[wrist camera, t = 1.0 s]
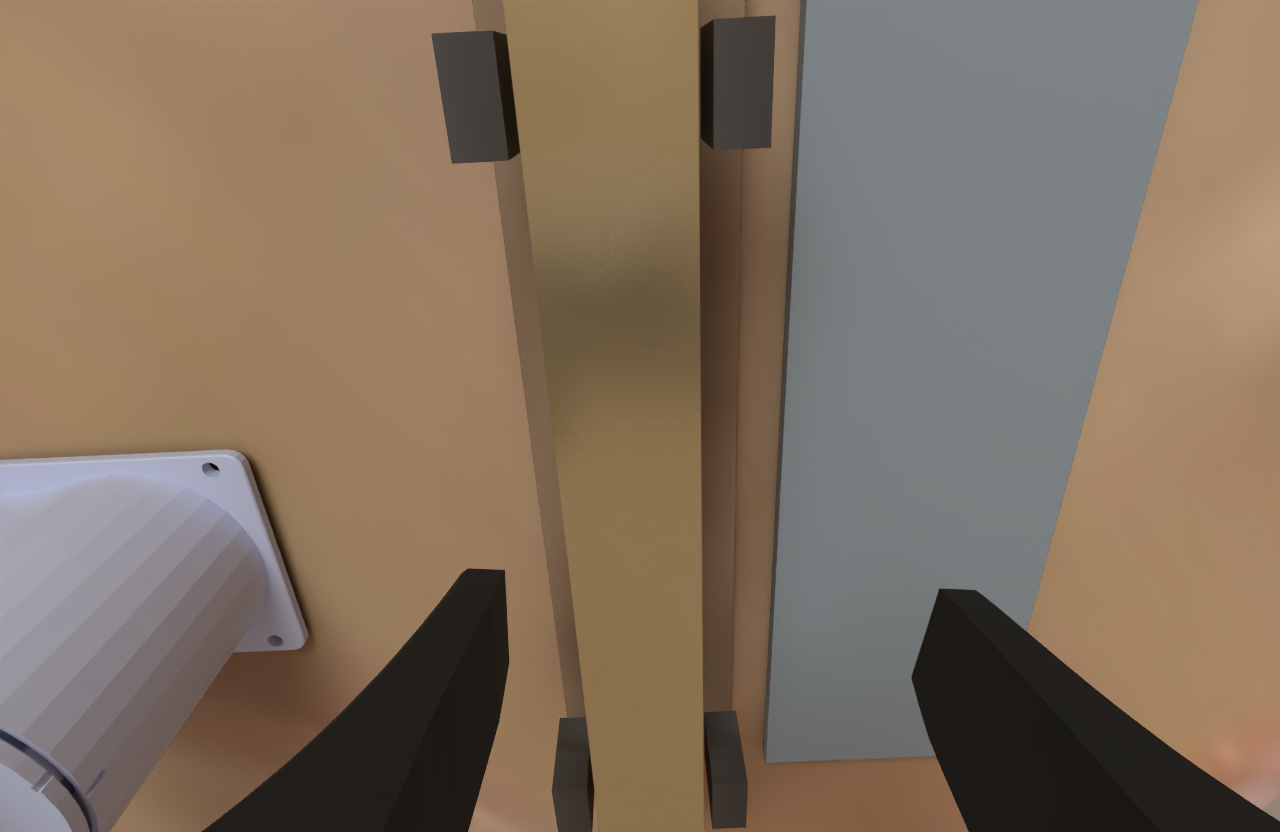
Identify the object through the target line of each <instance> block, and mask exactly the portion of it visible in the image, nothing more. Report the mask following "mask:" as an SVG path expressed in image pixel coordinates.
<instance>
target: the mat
mask: <svg viewBox="0 0 1280 832" xmlns="http://www.w3.org/2000/svg"><path fill="white" fill-rule="evenodd" d="M1197 4H1198V0H801V13H800V33H799V53H798V73H797V93H796V112H795V132H794V152H793V172H792V192H791V212H790V231H789V251H788V271H787V291H786V311H785V330H784V350H783V370H782V390H781V410H780V429H779V449H778V469H777V489H776V509H775V529H774V548H773V568H772V588H771V608H770V628H769V647H768V667H767V687H766V707H765V727H764V747H763V751H764V756H765V761H766V763H783V762H807V761H832V760H856V759H881V758H906V757H930V756H936V755H935V752H934V750H933V747H932V745H931V742H930V740H929V737H928V734H927V731H926V728H925V725H924V721H923V718H922V715H921V712H920V708H919V704H918V701H917V697H916V693H915V690H914V686H913V683H912V679H911V676H912V673H913V670H914V667H915V664H916V660H917V657H918V654H919V651H920V648H921V645H922V642H923V638H924V635H925V632H926V629H927V626H928V623H929V619H930V616H931V613H932V610H933V607H934V604H935V601H936V597H937V594H938V591H939V588H942V589H965V590H977V591H978V592H979V593H980V594H982V595H983V596H984V597H986V598H987V599H988V600H989V601H991V602H992V603H993V604H994V605H996V606H997V607H998V608H999V609H1000V610H1002V611H1003V612H1004V613H1005V614H1006V615H1008V616H1009V617H1010V618H1011V619H1012V620H1014V621H1015V622H1016V623H1017V624H1018V625H1019V626H1021V627H1022V628H1023V629H1024V630H1025V631H1026V632H1027V628H1028V624H1029V621H1030V617H1031V613H1032V610H1033V606H1034V602H1035V599H1036V595H1037V591H1038V588H1039V584H1040V580H1041V577H1042V573H1043V569H1044V566H1045V562H1046V558H1047V555H1048V551H1049V547H1050V544H1051V540H1052V536H1053V533H1054V529H1055V525H1056V522H1057V518H1058V514H1059V511H1060V507H1061V503H1062V500H1063V496H1064V492H1065V488H1066V485H1067V481H1068V477H1069V474H1070V470H1071V466H1072V463H1073V459H1074V455H1075V452H1076V448H1077V444H1078V441H1079V437H1080V433H1081V430H1082V426H1083V422H1084V419H1085V415H1086V411H1087V408H1088V404H1089V400H1090V397H1091V393H1092V389H1093V386H1094V382H1095V378H1096V375H1097V371H1098V367H1099V364H1100V360H1101V356H1102V353H1103V349H1104V345H1105V342H1106V338H1107V334H1108V331H1109V327H1110V323H1111V320H1112V316H1113V312H1114V309H1115V305H1116V301H1117V298H1118V294H1119V290H1120V286H1121V283H1122V279H1123V275H1124V272H1125V268H1126V264H1127V261H1128V257H1129V253H1130V250H1131V246H1132V242H1133V239H1134V235H1135V231H1136V228H1137V224H1138V220H1139V217H1140V213H1141V209H1142V206H1143V202H1144V198H1145V195H1146V191H1147V187H1148V184H1149V180H1150V176H1151V173H1152V169H1153V165H1154V162H1155V158H1156V154H1157V151H1158V147H1159V143H1160V140H1161V136H1162V132H1163V129H1164V125H1165V121H1166V118H1167V114H1168V110H1169V107H1170V103H1171V99H1172V96H1173V92H1174V88H1175V85H1176V81H1177V77H1178V73H1179V70H1180V66H1181V62H1182V59H1183V55H1184V51H1185V48H1186V44H1187V40H1188V37H1189V33H1190V29H1191V26H1192V22H1193V18H1194V15H1195V11H1196V7H1197Z"/></svg>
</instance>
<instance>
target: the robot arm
mask: <svg viewBox="0 0 1280 832" xmlns="http://www.w3.org/2000/svg"><path fill="white" fill-rule="evenodd" d="M209 463H213V464H215V465H216V466H217V467H218V468H219V470H220V471H218V470H215V469H213V468H212V467H211V466H210V464H209ZM276 636H279V637H280V638H278V637H276ZM307 638H308V631H307V628H306V626H305V623H304V620H303V617H302V614H301V611H300V608H299V605H298V603H297V600H296V597H295V594H294V591H293V588H292V585H291V582H290V580H289V577H288V574H287V571H286V568H285V565H284V562H283V559H282V557H281V554H280V551H279V548H278V545H277V542H276V539H275V536H274V534H273V531H272V528H271V525H270V522H269V519H268V516H267V513H266V511H265V508H264V505H263V502H262V499H261V496H260V493H259V490H258V488H257V485H256V482H255V479H254V476H253V473H252V470H251V467H250V465H249V462H248V460H247V459H246V457H245V456H243V455H242V454H241V453H239V452H237V451H235V450H208V451H186V452H164V453H142V454H121V455H99V456H77V457H55V458H34V459H12V460H0V832H110V831H111V829H112V828H113V827H114V825H115V824H116V822H117V821H118V819H119V818H120V816H121V815H122V813H123V812H124V810H125V809H126V808H127V806H128V805H129V803H130V802H131V800H132V799H133V797H134V796H135V794H136V793H137V792H138V790H139V789H140V787H141V786H142V784H143V783H144V781H145V780H146V778H147V777H148V776H149V774H150V773H151V771H152V770H153V768H154V767H155V765H156V764H157V762H158V761H159V760H160V758H161V757H162V755H163V754H164V752H165V751H166V749H167V748H168V746H169V745H170V744H171V742H172V741H173V739H174V738H175V736H176V735H177V733H178V732H179V730H180V729H181V728H182V726H183V725H184V723H185V722H186V720H187V719H188V717H189V716H190V714H191V713H192V712H193V710H194V709H195V707H196V706H197V704H198V703H199V701H200V700H201V698H202V697H203V695H204V694H205V693H206V691H207V690H208V688H209V687H210V685H211V684H212V682H213V681H214V679H215V678H216V677H217V675H218V674H219V672H220V671H221V669H222V668H223V666H224V665H225V663H226V662H227V661H228V659H229V658H230V656H231V655H232V653H233V652H256V651H280V650H296V649H300V648H301V647H303V645H304V644H305V642H306V640H307ZM508 666H509V647H508V626H507V606H506V586H505V570H490V569H467V570H465V571H464V572H463V573H462V574H461V575H460V576H459V577H458V579H457V580H456V582H455V583H454V584H453V586H452V587H451V588H450V589H449V591H448V592H447V593H446V595H445V596H444V597H443V599H442V600H441V601H440V603H439V604H438V605H437V606H436V608H435V609H434V610H433V611H432V613H431V614H430V615H429V616H428V617H427V619H426V620H425V621H424V622H423V624H422V625H421V626H420V627H419V629H418V630H417V631H416V632H415V633H414V634H413V635H412V637H411V638H410V639H409V640H408V641H407V642H406V644H405V645H404V646H403V647H402V648H401V649H400V650H399V652H398V653H397V654H396V655H395V656H394V657H393V659H392V660H391V661H390V662H389V663H388V664H387V665H386V666H385V668H384V669H383V670H382V671H381V672H380V673H379V674H378V675H377V676H376V677H375V678H374V679H373V680H372V681H371V682H370V683H369V684H368V685H367V686H366V687H365V689H364V690H363V691H362V692H361V693H360V694H359V695H358V696H357V697H356V698H355V699H354V700H353V701H352V702H351V703H350V704H349V705H348V706H347V707H346V708H345V709H344V710H343V711H342V712H341V713H340V714H339V715H338V716H337V717H336V718H335V719H334V720H333V721H332V722H331V723H330V724H329V725H328V726H327V727H326V728H325V729H324V730H323V731H322V732H320V733H319V734H318V735H317V736H316V737H315V738H314V739H313V740H312V741H311V742H310V743H309V744H307V745H306V746H305V747H304V748H303V749H302V750H301V751H300V752H298V753H297V754H296V755H295V756H294V757H293V758H292V759H291V760H290V761H288V762H287V763H286V764H285V765H284V766H283V767H282V768H280V769H279V770H278V771H277V772H275V773H274V774H273V775H272V776H271V777H269V778H268V779H267V780H266V781H265V782H263V783H262V784H261V785H260V786H259V787H257V788H256V789H255V790H254V791H253V792H251V793H250V794H249V795H248V796H247V797H245V798H244V799H243V800H242V801H241V802H239V803H238V804H237V805H236V806H234V807H233V808H232V809H230V810H229V811H228V812H227V813H225V814H224V815H223V816H222V817H220V818H219V819H218V820H216V821H215V822H214V823H212V824H211V825H210V826H209V827H207V828H206V829H205V830H203V831H202V832H468V830H469V826H470V823H471V819H472V816H473V812H474V809H475V805H476V802H477V798H478V795H479V791H480V788H481V784H482V781H483V777H484V774H485V770H486V767H487V763H488V760H489V756H490V752H491V749H492V745H493V742H494V738H495V735H496V731H497V727H498V724H499V719H500V713H501V708H502V702H503V696H504V690H505V684H506V678H507V672H508ZM911 679H912V683H913V686H914V690H915V693H916V697H917V701H918V704H919V708H920V712H921V715H922V718H923V721H924V725H925V728H926V731H927V734H928V737H929V740H930V742H931V745H932V747H933V750H934V752H935V755H936V757H937V759H938V762H939V764H940V766H941V769H942V771H943V773H944V776H945V778H946V780H947V783H948V785H949V787H950V790H951V792H952V794H953V796H954V799H955V801H956V803H957V806H958V808H959V810H960V812H961V815H962V817H963V819H964V822H965V824H966V826H967V828H968V831H969V832H1280V821H1278V820H1277V819H1275V818H1274V817H1272V816H1270V815H1269V814H1267V813H1266V812H1264V811H1263V810H1261V809H1259V808H1258V807H1256V806H1255V805H1253V804H1252V803H1250V802H1249V801H1247V800H1246V799H1244V798H1243V797H1242V796H1240V795H1239V794H1237V793H1236V792H1234V791H1233V790H1231V789H1230V788H1228V787H1227V786H1225V785H1224V784H1222V783H1221V782H1219V781H1218V780H1216V779H1215V778H1214V777H1212V776H1211V775H1209V774H1208V773H1206V772H1205V771H1203V770H1202V769H1200V768H1199V767H1197V766H1196V765H1195V764H1193V763H1192V762H1190V761H1189V760H1188V759H1186V758H1185V757H1183V756H1182V755H1181V754H1179V753H1178V752H1176V751H1175V750H1174V749H1172V748H1171V747H1170V746H1168V745H1167V744H1166V743H1164V742H1163V741H1162V740H1160V739H1159V738H1158V737H1156V736H1155V735H1154V734H1152V733H1151V732H1150V731H1148V730H1147V729H1146V728H1144V727H1143V726H1142V725H1141V724H1139V723H1138V722H1137V721H1135V720H1134V719H1133V718H1131V717H1130V716H1129V715H1127V714H1126V713H1125V712H1123V711H1122V710H1121V709H1120V708H1118V707H1117V706H1116V705H1115V704H1113V703H1112V702H1111V701H1110V700H1108V699H1107V698H1106V697H1105V696H1103V695H1102V694H1101V693H1100V692H1098V691H1097V690H1096V689H1095V688H1093V687H1092V686H1091V685H1090V684H1089V683H1087V682H1086V681H1085V680H1084V679H1082V678H1081V677H1080V676H1079V675H1078V674H1076V673H1075V672H1074V671H1073V670H1072V669H1070V668H1069V667H1068V666H1067V665H1066V664H1064V663H1063V662H1062V661H1061V660H1060V659H1058V658H1057V657H1056V656H1055V655H1054V654H1052V653H1051V652H1050V651H1049V650H1048V649H1047V648H1045V647H1044V646H1043V645H1042V644H1041V643H1039V642H1038V641H1037V640H1036V639H1035V638H1034V637H1032V636H1031V635H1030V634H1029V633H1028V632H1026V631H1025V630H1024V629H1023V628H1022V627H1021V626H1019V625H1018V624H1017V623H1016V622H1015V621H1014V620H1012V619H1011V618H1010V617H1009V616H1008V615H1006V614H1005V613H1004V612H1003V611H1002V610H1000V609H999V608H998V607H997V606H996V605H994V604H993V603H992V602H991V601H989V600H988V599H987V598H986V597H984V596H983V595H982V594H980V593H979V592H978V591H977V590H965V589H942V588H939V591H938V594H937V597H936V601H935V604H934V607H933V610H932V613H931V616H930V619H929V623H928V626H927V629H926V632H925V635H924V638H923V642H922V645H921V648H920V651H919V654H918V657H917V660H916V664H915V667H914V670H913V673H912V676H911Z"/></svg>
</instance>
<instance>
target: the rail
mask: <svg viewBox="0 0 1280 832" xmlns="http://www.w3.org/2000/svg"><path fill="white" fill-rule="evenodd" d="M503 6H504V15H505V23H506V32H507V41H508V49H509V58H510V67H511V75H512V84H513V92H514V101H515V110H516V118H517V127H518V135H519V144H520V153H521V161H522V170H523V178H524V187H525V196H526V204H527V213H528V222H529V230H530V239H531V247H532V256H533V265H534V273H535V282H536V290H537V299H538V308H539V316H540V325H541V333H542V342H543V351H544V359H545V368H546V377H547V385H548V394H549V402H550V411H551V420H552V428H553V437H554V445H555V454H556V463H557V471H558V480H559V489H560V497H561V506H562V514H563V523H564V532H565V540H566V549H567V557H568V566H569V575H570V583H571V592H572V600H573V609H574V618H575V626H576V635H577V644H578V652H579V661H580V669H581V678H582V687H583V695H584V704H585V712H586V721H587V730H588V738H589V747H590V755H591V764H592V773H593V781H594V790H595V799H596V807H597V816H598V824H599V832H704V778H703V639H702V499H701V360H700V221H699V82H698V0H503Z"/></svg>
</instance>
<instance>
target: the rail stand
mask: <svg viewBox="0 0 1280 832" xmlns="http://www.w3.org/2000/svg"><path fill="white" fill-rule="evenodd" d="M472 4H473V11H474V19H475V26H476V31H473V32H454V33H435V34H432V40H433V47H434V53H435V59H436V66H437V72H438V78H439V84H440V91H441V97H442V103H443V110H444V116H445V122H446V128H447V135H448V141H449V147H450V154H451V160H452V164H453V163H472V162H492V161H494V169H495V176H496V184H497V191H498V199H499V206H500V214H501V221H502V229H503V236H504V244H505V251H506V259H507V266H508V274H509V281H510V289H511V296H512V304H513V311H514V319H515V326H516V334H517V341H518V349H519V356H520V364H521V371H522V379H523V386H524V394H525V401H526V409H527V416H528V424H529V431H530V439H531V446H532V454H533V461H534V469H535V476H536V484H537V491H538V499H539V506H540V514H541V521H542V529H543V536H544V544H545V551H546V559H547V566H548V574H549V581H550V589H551V596H552V604H553V611H554V619H555V626H556V634H557V641H558V649H559V656H560V664H561V671H562V679H563V686H564V694H565V701H566V709H567V716H568V718H560V722H559V731H558V741H557V750H556V759H555V768H554V777H553V786H552V795H553V802H554V808H555V814H556V821H557V827H558V832H592V826H593V807H594V781H593V773H592V764H591V755H590V747H589V738H588V730H587V721H586V712H585V704H584V695H583V687H582V678H581V669H580V661H579V652H578V644H577V635H576V626H575V618H574V609H573V600H572V592H571V583H570V575H569V566H568V557H567V549H566V540H565V532H564V523H563V514H562V506H561V497H560V489H559V480H558V471H557V463H556V454H555V445H554V437H553V428H552V420H551V411H550V402H549V394H548V385H547V377H546V368H545V359H544V351H543V342H542V333H541V325H540V316H539V308H538V299H537V290H536V282H535V273H534V265H533V256H532V247H531V239H530V230H529V222H528V213H527V204H526V196H525V187H524V178H523V170H522V161H521V153H520V144H519V135H518V127H517V118H516V110H515V101H514V92H513V84H512V75H511V67H510V58H509V49H508V41H507V32H506V23H505V15H504V6H503V0H472ZM775 18H776V16H760V17H745V0H698V82H699V221H700V360H701V499H702V639H703V726H704V754H705V764H706V773H707V782H708V792H709V801H710V810H711V820H712V829H717V828H742V827H746V813H747V785H748V783H747V777H746V771H745V765H744V759H743V752H742V746H741V740H740V734H739V728H738V722H737V716H736V711H731V707H732V654H733V602H734V550H735V497H736V445H737V392H738V340H739V288H740V235H741V183H742V149H751V148H771V128H772V100H773V73H774V46H775Z"/></svg>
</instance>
